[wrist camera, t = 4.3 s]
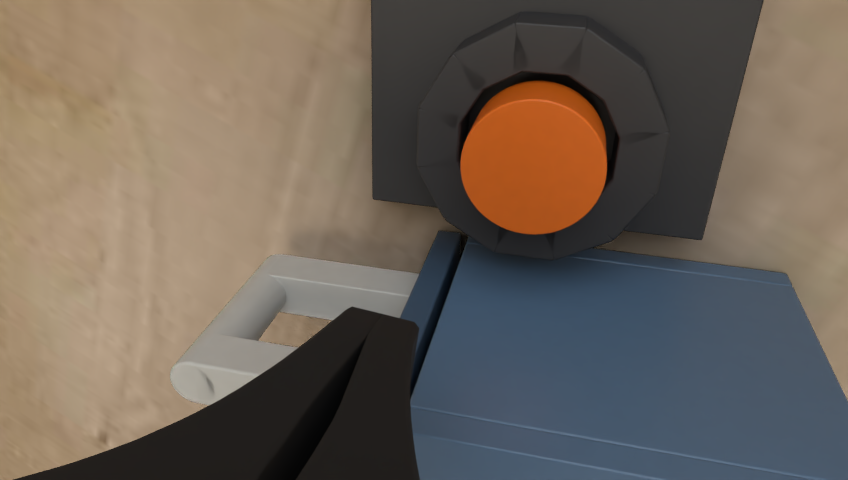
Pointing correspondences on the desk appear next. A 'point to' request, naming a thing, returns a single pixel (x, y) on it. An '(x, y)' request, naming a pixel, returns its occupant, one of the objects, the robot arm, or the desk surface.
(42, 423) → the desk surface
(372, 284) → the cabinet door
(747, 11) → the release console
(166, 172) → the desk surface
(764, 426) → the blue-grey cabinet box
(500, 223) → the release button
